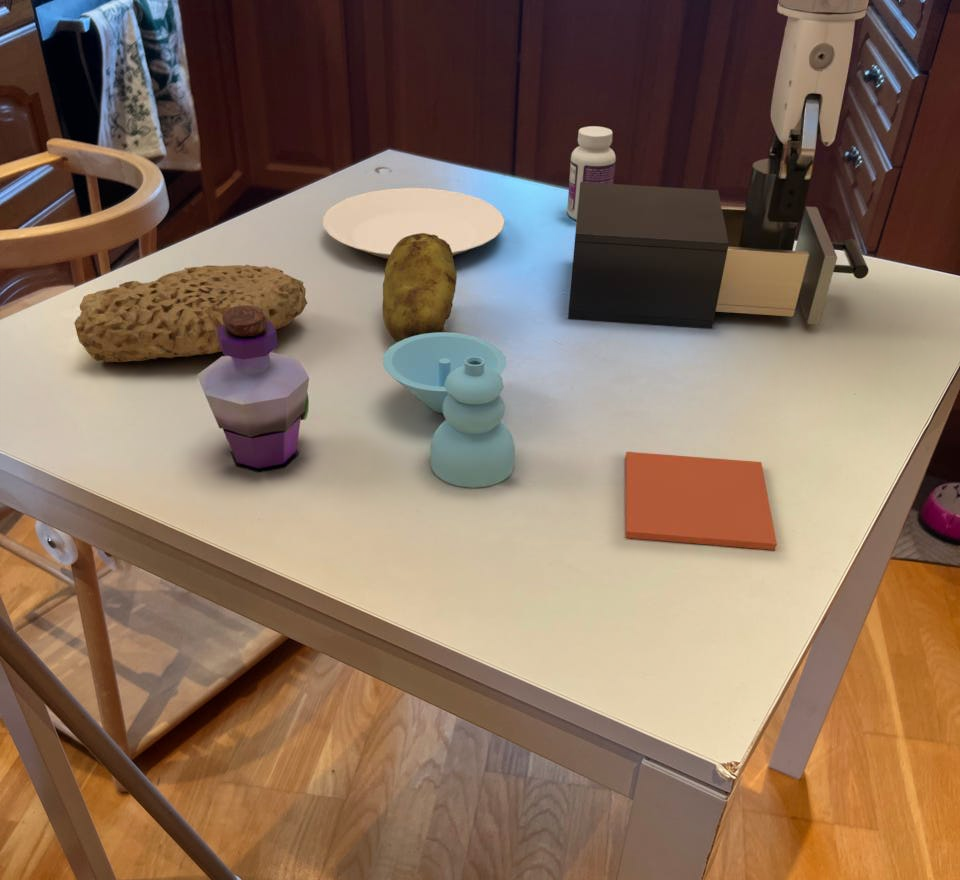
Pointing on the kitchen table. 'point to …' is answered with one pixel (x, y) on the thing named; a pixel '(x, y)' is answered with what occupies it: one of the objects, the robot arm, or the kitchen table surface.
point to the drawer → (783, 270)
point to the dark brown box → (647, 255)
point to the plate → (412, 219)
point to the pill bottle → (590, 163)
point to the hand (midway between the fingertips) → (780, 207)
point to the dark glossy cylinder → (764, 211)
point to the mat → (697, 501)
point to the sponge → (181, 311)
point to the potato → (418, 286)
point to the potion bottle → (256, 391)
